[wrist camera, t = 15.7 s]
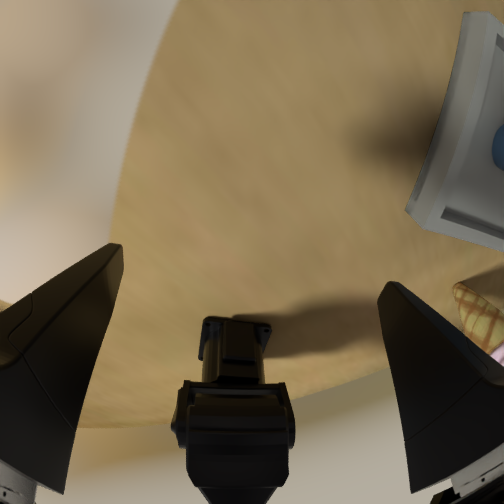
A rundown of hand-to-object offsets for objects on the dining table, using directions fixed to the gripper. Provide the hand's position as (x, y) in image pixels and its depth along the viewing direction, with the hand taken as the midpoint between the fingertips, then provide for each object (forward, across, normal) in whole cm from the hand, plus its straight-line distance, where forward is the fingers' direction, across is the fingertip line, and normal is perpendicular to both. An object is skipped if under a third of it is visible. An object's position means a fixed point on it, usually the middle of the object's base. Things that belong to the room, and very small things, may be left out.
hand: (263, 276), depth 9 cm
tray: (+12, -21, -8) cm, 25 cm away
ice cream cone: (+12, -25, +8) cm, 29 cm away
